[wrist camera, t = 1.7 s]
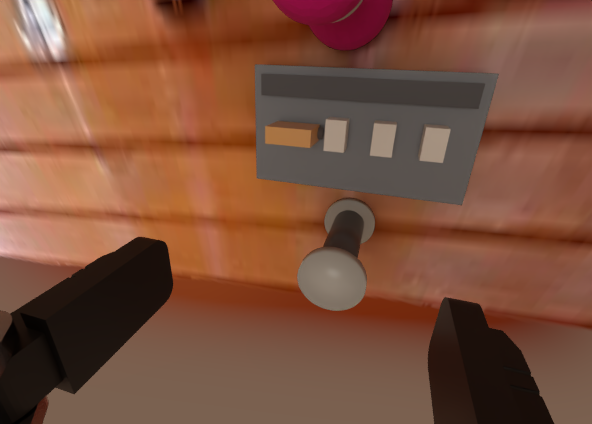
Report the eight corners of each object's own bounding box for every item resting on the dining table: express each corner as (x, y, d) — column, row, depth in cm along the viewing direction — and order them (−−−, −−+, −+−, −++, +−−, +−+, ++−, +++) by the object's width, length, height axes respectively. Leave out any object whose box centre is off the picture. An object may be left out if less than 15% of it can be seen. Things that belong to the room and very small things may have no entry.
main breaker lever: (324, 124, 32) (315, 130, 28) (323, 140, 32) (314, 148, 29) (275, 120, 33) (261, 125, 29) (275, 135, 33) (261, 143, 30)
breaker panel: (489, 73, 29) (506, 73, 24) (456, 194, 34) (465, 213, 29) (265, 65, 34) (246, 64, 30) (266, 171, 39) (249, 183, 35)
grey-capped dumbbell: (378, 201, 37) (370, 259, 25) (371, 245, 39) (361, 317, 28) (328, 194, 38) (298, 246, 27) (324, 237, 41) (296, 302, 29)
